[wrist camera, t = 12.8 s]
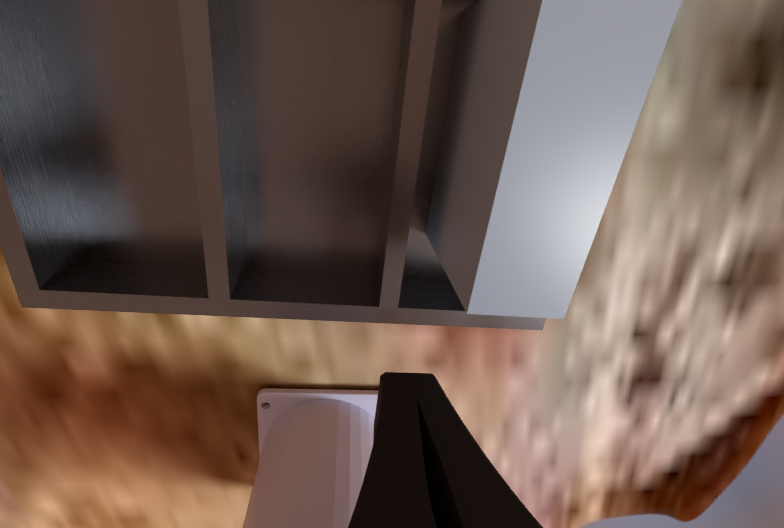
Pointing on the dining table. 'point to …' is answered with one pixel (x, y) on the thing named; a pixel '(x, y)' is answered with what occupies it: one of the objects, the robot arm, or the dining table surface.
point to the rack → (228, 157)
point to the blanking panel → (537, 143)
